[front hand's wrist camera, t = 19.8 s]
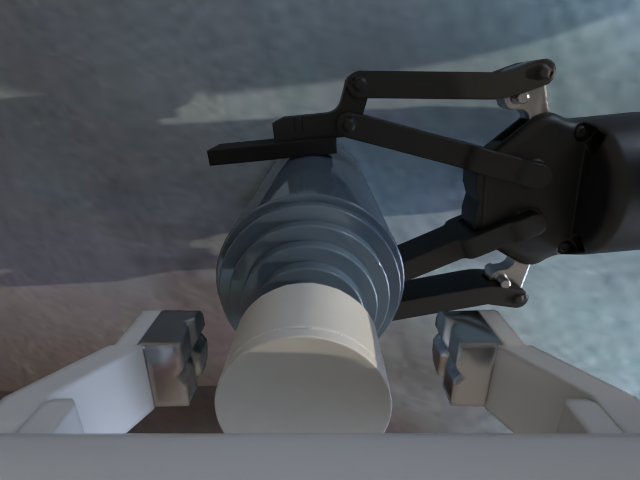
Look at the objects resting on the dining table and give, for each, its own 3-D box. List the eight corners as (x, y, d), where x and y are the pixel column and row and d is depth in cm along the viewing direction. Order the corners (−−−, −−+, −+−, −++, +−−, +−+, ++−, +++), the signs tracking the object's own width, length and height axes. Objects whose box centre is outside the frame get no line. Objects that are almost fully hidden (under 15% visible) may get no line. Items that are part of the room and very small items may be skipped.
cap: (288, 417, 11) (280, 493, 9) (207, 325, 10) (177, 388, 8) (402, 362, 11) (423, 431, 8) (330, 254, 9) (332, 304, 7)
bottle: (326, 117, 26) (339, 193, 7) (379, 194, 28) (501, 414, 9) (250, 175, 27) (95, 364, 9) (306, 244, 29) (280, 522, 11)
